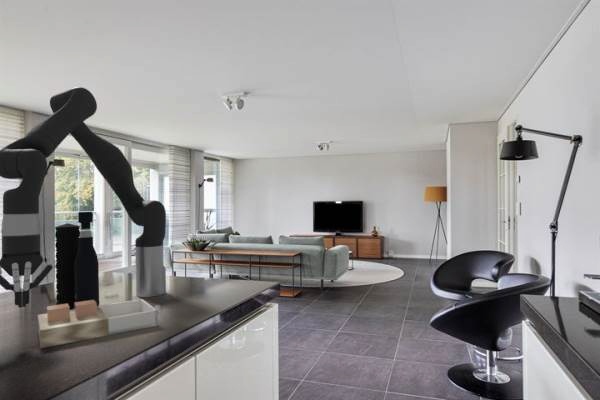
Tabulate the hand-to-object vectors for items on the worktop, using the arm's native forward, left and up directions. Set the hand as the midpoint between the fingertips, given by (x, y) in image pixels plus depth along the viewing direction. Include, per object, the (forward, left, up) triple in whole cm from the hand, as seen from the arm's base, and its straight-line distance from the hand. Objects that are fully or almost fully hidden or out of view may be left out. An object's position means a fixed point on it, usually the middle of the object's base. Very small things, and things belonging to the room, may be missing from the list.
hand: (21, 306), depth 94 cm
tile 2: (-13, 0, -4) cm, 14 cm away
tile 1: (-7, 0, -4) cm, 8 cm away
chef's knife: (-33, -7, -9) cm, 34 cm away
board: (-10, 0, -8) cm, 13 cm away
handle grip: (-12, -31, -9) cm, 34 cm away
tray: (-23, 0, -8) cm, 25 cm away
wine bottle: (-16, -21, -9) cm, 28 cm away
